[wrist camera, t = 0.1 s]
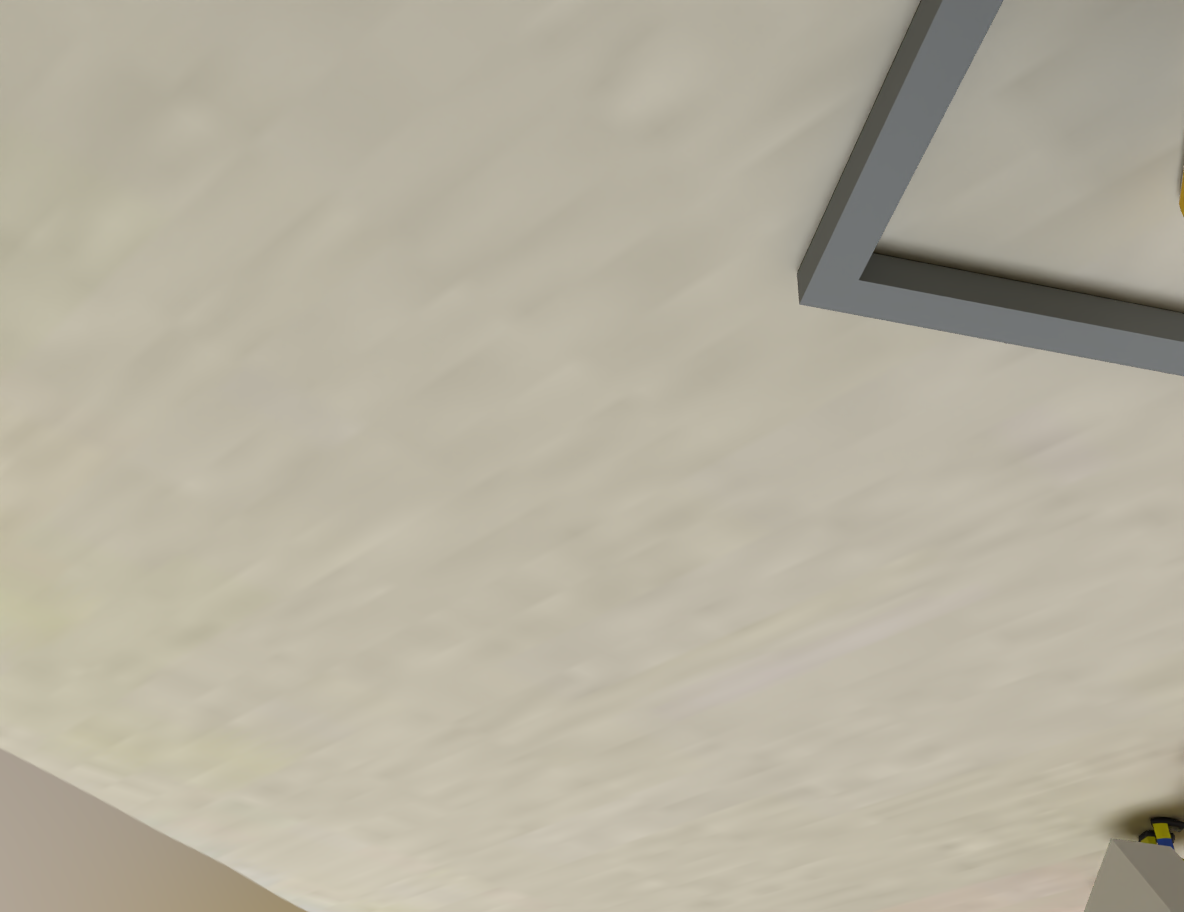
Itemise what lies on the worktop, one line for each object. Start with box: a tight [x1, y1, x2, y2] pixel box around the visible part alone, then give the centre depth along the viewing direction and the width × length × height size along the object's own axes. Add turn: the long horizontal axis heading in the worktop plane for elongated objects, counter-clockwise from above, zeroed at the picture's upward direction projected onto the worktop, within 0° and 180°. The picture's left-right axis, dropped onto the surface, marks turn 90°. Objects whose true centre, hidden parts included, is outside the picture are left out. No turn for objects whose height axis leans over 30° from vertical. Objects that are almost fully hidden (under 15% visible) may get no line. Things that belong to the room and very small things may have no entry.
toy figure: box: [1139, 818, 1184, 861], centre depth 48 cm, size 18×6×7 cm, turn 8°
